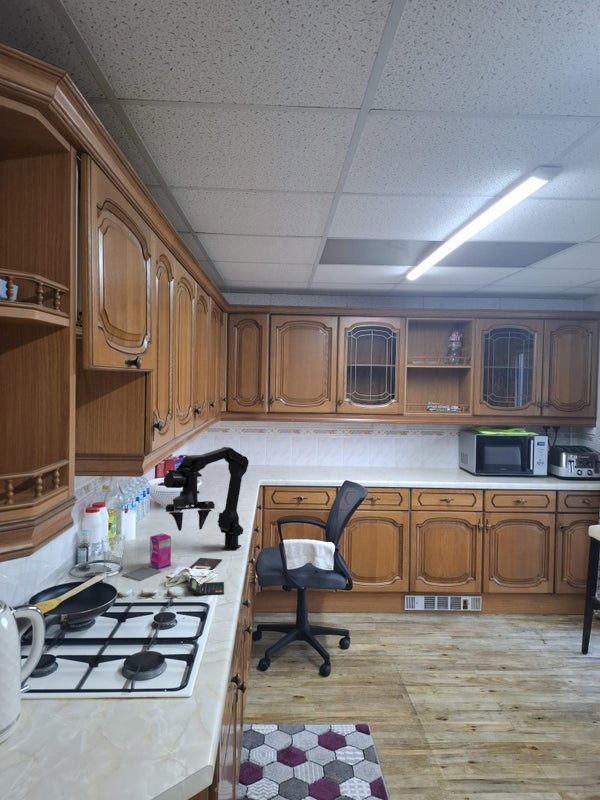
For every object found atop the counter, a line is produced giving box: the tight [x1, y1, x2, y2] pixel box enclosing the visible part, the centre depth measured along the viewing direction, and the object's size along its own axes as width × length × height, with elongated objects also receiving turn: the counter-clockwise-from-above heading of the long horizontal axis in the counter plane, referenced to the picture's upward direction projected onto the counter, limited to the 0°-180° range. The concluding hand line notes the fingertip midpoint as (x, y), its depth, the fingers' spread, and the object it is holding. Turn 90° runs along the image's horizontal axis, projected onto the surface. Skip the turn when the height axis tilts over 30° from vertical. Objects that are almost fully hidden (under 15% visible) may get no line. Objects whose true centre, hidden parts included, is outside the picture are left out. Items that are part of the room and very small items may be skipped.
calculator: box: [187, 576, 225, 597], centre depth 163 cm, size 9×12×3 cm
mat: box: [121, 566, 162, 582], centre depth 176 cm, size 10×9×1 cm
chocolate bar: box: [188, 557, 223, 571], centre depth 183 cm, size 9×1×18 cm
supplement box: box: [149, 532, 172, 570], centre depth 184 cm, size 6×6×12 cm
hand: (190, 530), depth 185 cm, fingers open, 9 cm apart
